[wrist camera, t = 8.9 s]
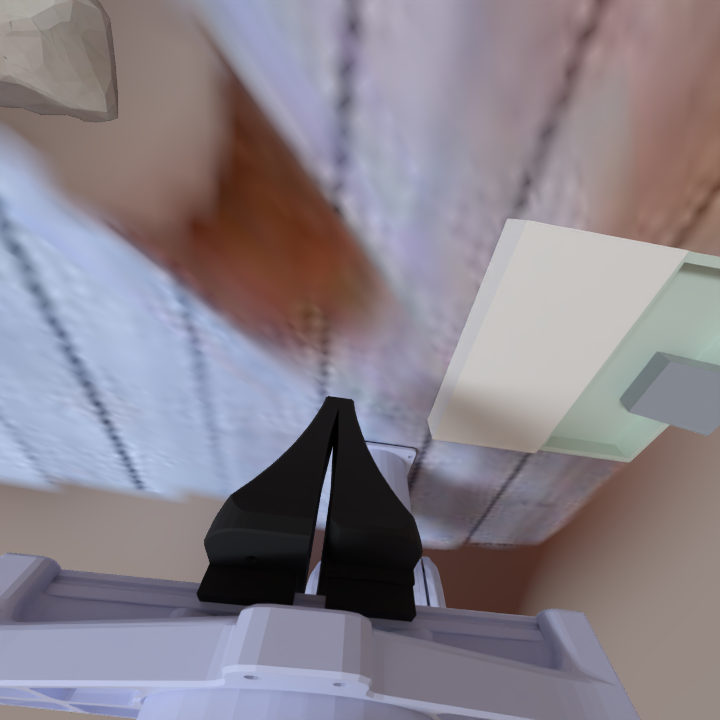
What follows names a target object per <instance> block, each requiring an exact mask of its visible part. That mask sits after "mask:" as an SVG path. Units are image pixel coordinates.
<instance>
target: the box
mask: <svg viewBox="0 0 720 720" xmlns="http://www.w3.org/2000/svg"><path fill="white" fill-rule="evenodd" d="M657 351H658V352H663V353H667V354H672V355H676V356H680V357H685V358H689V359H694V360H698V361H702V362H707V363H711V364H716V365H720V257H717V256H711V255H706V254H701V253H696V252H690V251H689V252H688V253H687V254H686V256H685V257H684V258H683V260H682V261H681V262H680V264H679V265H678V266H677V268H676V269H675V270H674V272H673V273H672V274H671V276H670V277H669V278H668V280H667V281H666V282H665V284H664V285H663V286H662V287H661V289H660V290H659V291H658V293H657V294H656V295H655V297H654V298H653V299H652V301H651V302H650V303H649V305H648V306H647V307H646V309H645V310H644V311H643V313H642V314H641V315H640V316H639V318H638V319H637V320H636V322H635V323H634V324H633V326H632V327H631V328H630V330H629V331H628V332H627V334H626V335H625V336H624V338H623V339H622V340H621V342H620V343H619V344H618V345H617V347H616V348H615V349H614V351H613V352H612V353H611V355H610V356H609V357H608V359H607V360H606V361H605V363H604V364H603V365H602V367H601V368H600V369H599V371H598V372H597V373H596V374H595V376H594V377H593V378H592V380H591V381H590V382H589V384H588V385H587V386H586V388H585V389H584V390H583V392H582V393H581V394H580V396H579V397H578V398H577V400H576V401H575V402H574V403H573V405H572V406H571V407H570V409H569V410H568V411H567V413H566V414H565V415H564V417H563V418H562V419H561V421H560V422H559V423H558V425H557V426H556V427H555V429H554V430H553V431H552V432H551V434H550V435H549V436H548V438H547V439H546V440H545V442H544V443H543V444H542V446H541V447H540V448H539V450H541V451H549V452H556V453H563V454H570V455H578V456H585V457H592V458H599V459H607V460H614V461H621V462H628V463H630V462H631V461H632V460H633V459H634V458H635V457H636V456H637V455H638V454H639V453H640V452H641V451H642V450H643V449H644V448H645V447H647V446H648V445H649V444H650V443H651V442H652V441H653V440H654V439H655V438H656V437H657V436H658V435H659V434H660V433H661V432H663V431H664V430H665V429H666V428H667V427H668V426H669V424H666V423H663V422H659V421H656V420H653V419H649V418H646V417H643V416H639V415H636V414H632V413H629V412H628V411H627V410H626V408H625V407H624V405H623V404H622V403H621V401H620V398H621V397H622V396H623V394H624V393H625V392H626V391H627V389H628V388H629V387H630V385H631V384H632V383H633V382H634V380H635V379H636V378H637V376H638V375H639V374H640V373H641V371H642V370H643V369H644V367H645V366H646V365H647V364H648V362H649V361H650V360H651V358H652V357H653V356H654V354H655V353H656V352H657Z"/></svg>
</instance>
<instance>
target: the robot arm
mask: <svg viewBox="0 0 720 720" xmlns="http://www.w3.org/2000/svg"><path fill="white" fill-rule="evenodd" d="M332 447H333V455H332V474H331V490H330V500H329V507H328V514H327V521H326V528H325V536H324V543H323V550H322V557H321V561H320V562H319V563H318V564H317V566H316V568H315V569H314V570H313V572H312V573H311V575H310V578H309V580H308V584H307V588H306V583H307V576H308V570H309V564H310V558H311V551H312V546H313V539H314V533H315V527H316V521H317V515H318V509H319V503H320V497H321V492H322V487H323V483H324V479H325V475H326V471H327V467H328V463H329V459H330V455H331V451H332ZM415 456H416V450H415V449H413V448H406V447H399V446H392V445H384V444H377V443H369V442H365V440H364V437H363V435H362V432H361V429H360V426H359V423H358V420H357V416H356V412H355V407H354V401H353V400H352V399H345V398H338V397H331V396H328V397H326V399H325V401H324V403H323V405H322V407H321V409H320V410H319V412H318V413H317V415H316V416H315V418H314V419H313V421H312V422H311V423H310V425H309V426H308V427H307V429H306V430H305V431H304V432H303V434H302V435H301V436H300V437H299V438H298V439H297V441H296V442H295V443H294V444H293V445H292V446H291V447H290V448H289V449H288V450H287V451H286V452H285V453H284V454H283V455H282V456H281V457H280V458H279V459H277V460H276V461H275V462H274V463H273V464H272V465H271V466H269V467H268V468H267V469H266V470H264V471H263V472H262V473H261V474H259V475H258V476H257V477H256V478H254V479H253V480H252V481H250V482H249V483H247V484H246V485H244V486H243V487H241V488H240V489H239V490H237V491H236V492H234V493H233V494H231V495H230V497H229V498H228V499H227V501H226V502H225V503H224V505H223V506H222V508H221V509H220V511H219V512H218V514H217V516H216V517H215V519H214V521H213V523H212V525H211V527H210V529H209V531H208V533H207V535H206V538H205V539H204V546H205V549H206V552H207V556H208V559H209V562H210V564H209V566H208V569H207V571H206V573H205V575H204V577H203V580H202V582H201V583H193V582H181V581H173V580H163V579H152V578H142V577H132V576H122V575H113V574H102V573H93V572H82V571H73V570H63V569H61V567H60V565H59V564H58V563H57V562H56V561H54V560H53V559H51V558H48V557H44V556H36V555H26V554H17V553H6V554H3V555H2V556H1V557H0V704H2V705H13V706H23V707H33V708H42V709H52V710H61V711H71V712H79V713H88V714H98V715H107V716H117V717H125V718H134V719H136V720H641V719H640V717H639V715H638V713H637V711H636V710H635V708H634V706H633V704H632V702H631V700H630V698H629V697H628V695H627V693H626V691H625V689H624V687H623V685H622V683H621V681H620V679H619V678H618V676H617V674H616V672H615V670H614V668H613V666H612V664H611V663H610V661H609V659H608V657H607V655H606V653H605V651H604V650H603V648H602V646H601V644H600V642H599V640H598V638H597V636H596V634H595V632H594V631H593V629H592V627H591V625H590V623H589V621H588V619H587V617H586V616H585V614H584V613H583V612H581V611H573V610H563V609H546V610H543V611H541V612H540V613H538V614H537V616H536V617H531V616H522V615H511V614H502V613H492V612H482V611H472V610H462V609H451V608H446V605H445V600H444V595H443V589H442V585H441V580H440V576H439V572H438V569H437V567H436V566H435V564H434V563H432V562H431V561H430V558H429V557H422V566H421V561H420V558H421V556H422V552H423V551H422V544H421V539H420V535H419V532H418V528H417V525H416V522H415V519H414V517H413V516H412V511H411V504H410V497H409V490H408V483H407V476H408V473H409V471H410V468H411V466H412V463H413V461H414V458H415ZM422 570H423V572H422ZM305 589H306V592H305Z"/></svg>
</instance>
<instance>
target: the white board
mask: <svg viewBox="0 0 720 720" xmlns="http://www.w3.org/2000/svg"><path fill="white" fill-rule="evenodd" d="M688 252H689V251H688V250H682V249H677V248H672V247H667V246H661V245H656V244H651V243H645V242H640V241H635V240H630V239H624V238H619V237H614V236H608V235H603V234H598V233H592V232H587V231H582V230H577V229H571V228H566V227H561V226H555V225H550V224H545V223H540V222H534V221H529V220H517V219H507V221H506V223H505V226H504V228H503V231H502V233H501V236H500V238H499V241H498V243H497V246H496V249H495V251H494V254H493V256H492V259H491V261H490V264H489V266H488V269H487V271H486V274H485V276H484V279H483V281H482V284H481V286H480V289H479V291H478V294H477V296H476V299H475V301H474V304H473V306H472V309H471V311H470V314H469V316H468V319H467V322H466V324H465V327H464V329H463V332H462V334H461V337H460V339H459V342H458V344H457V347H456V349H455V352H454V354H453V357H452V359H451V362H450V364H449V367H448V369H447V372H446V374H445V377H444V379H443V382H442V384H441V387H440V389H439V392H438V395H437V397H436V400H435V402H434V405H433V407H432V410H431V412H430V415H429V417H428V420H427V421H428V425H429V428H430V432H431V435H432V439H433V440H440V441H447V442H455V443H462V444H469V445H477V446H484V447H491V448H499V449H506V450H513V451H520V452H528V453H535V454H536V452H537V451H538V450H539V448H540V447H541V446H542V444H543V443H544V442H545V440H546V439H547V438H548V436H549V435H550V434H551V432H552V431H553V430H554V429H555V427H556V426H557V425H558V423H559V422H560V421H561V419H562V418H563V417H564V415H565V414H566V413H567V411H568V410H569V409H570V407H571V406H572V405H573V403H574V402H575V401H576V400H577V398H578V397H579V396H580V394H581V393H582V392H583V390H584V389H585V388H586V386H587V385H588V384H589V382H590V381H591V380H592V378H593V377H594V376H595V374H596V373H597V372H598V371H599V369H600V368H601V367H602V365H603V364H604V363H605V361H606V360H607V359H608V357H609V356H610V355H611V353H612V352H613V351H614V349H615V348H616V347H617V345H618V344H619V343H620V342H621V340H622V339H623V338H624V336H625V335H626V334H627V332H628V331H629V330H630V328H631V327H632V326H633V324H634V323H635V322H636V320H637V319H638V318H639V316H640V315H641V314H642V313H643V311H644V310H645V309H646V307H647V306H648V305H649V303H650V302H651V301H652V299H653V298H654V297H655V295H656V294H657V293H658V291H659V290H660V289H661V287H662V286H663V285H664V284H665V282H666V281H667V280H668V278H669V277H670V276H671V274H672V273H673V272H674V270H675V269H676V268H677V266H678V265H679V264H680V262H681V261H682V260H683V258H684V257H685V256H686V254H687V253H688Z"/></svg>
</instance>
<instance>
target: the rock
mask: <svg viewBox="0 0 720 720" xmlns="http://www.w3.org/2000/svg"><path fill="white" fill-rule="evenodd" d="M0 106H2V107H14V108H24V109H26V110H29V111H32V112H35V113H38V114H40V115H69V116H72V117H76V118H80V119H81V120H83V121H89V122H103V121H110V120H113V119H116V118H118V90H117V79H116V66H115V57H114V48H113V40H112V32H111V25H110V19H109V17H108V15H107V13H106V12H105V10H104V9H103V7H102V5H101V4H100V3H99V2H98V1H97V0H0Z"/></svg>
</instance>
